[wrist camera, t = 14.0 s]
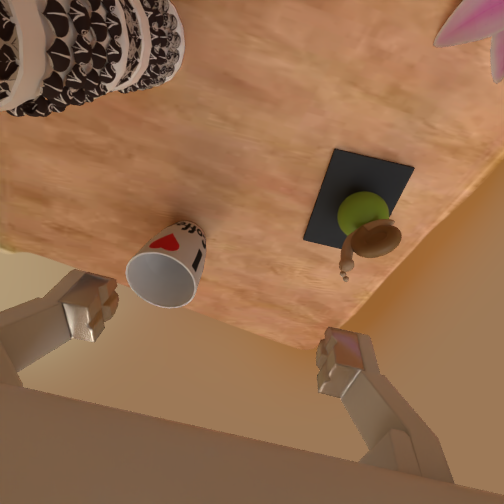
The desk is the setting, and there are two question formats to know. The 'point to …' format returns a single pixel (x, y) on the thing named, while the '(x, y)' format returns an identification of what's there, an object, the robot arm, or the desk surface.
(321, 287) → the desk surface
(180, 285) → the cup
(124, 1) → the black-white patterned cylinder
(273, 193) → the desk surface
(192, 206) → the desk surface
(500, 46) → the lily
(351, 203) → the snail figurine
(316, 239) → the mat
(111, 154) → the desk surface
